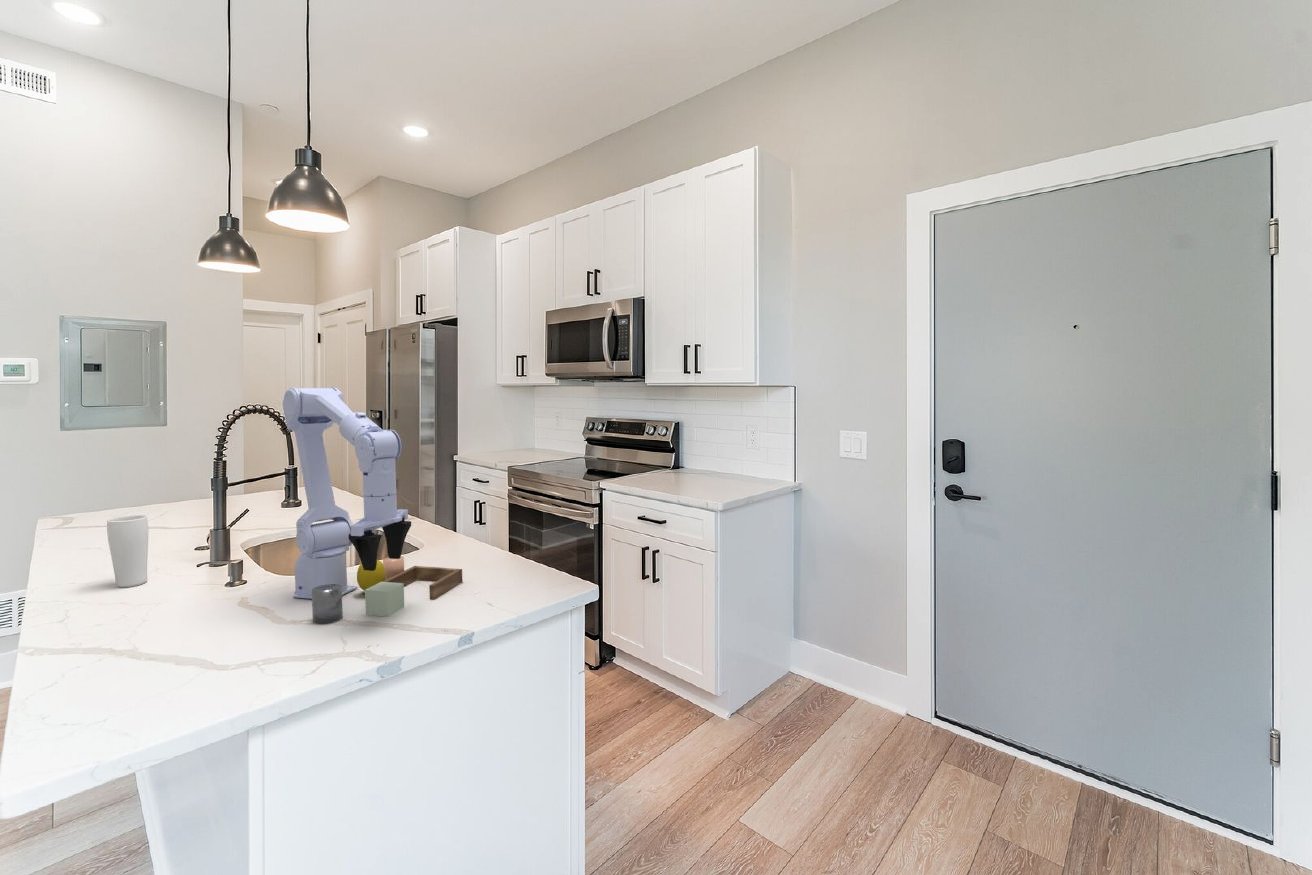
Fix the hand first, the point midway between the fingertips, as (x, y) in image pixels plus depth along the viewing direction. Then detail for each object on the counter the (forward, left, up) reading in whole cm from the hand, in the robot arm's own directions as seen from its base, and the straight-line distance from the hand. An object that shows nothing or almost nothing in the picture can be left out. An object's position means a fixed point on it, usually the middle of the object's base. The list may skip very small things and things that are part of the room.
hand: (382, 564), depth 114 cm
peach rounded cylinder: (-12, +19, -10) cm, 25 cm away
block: (-2, +2, -10) cm, 11 cm away
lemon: (-11, +10, -10) cm, 18 cm away
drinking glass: (-67, +4, -10) cm, 68 cm away
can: (-10, -4, -10) cm, 14 cm away
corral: (-2, +15, -10) cm, 19 cm away
